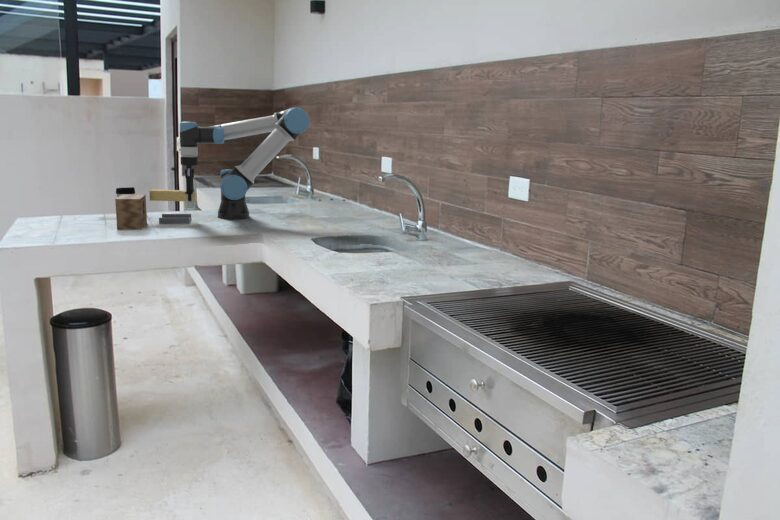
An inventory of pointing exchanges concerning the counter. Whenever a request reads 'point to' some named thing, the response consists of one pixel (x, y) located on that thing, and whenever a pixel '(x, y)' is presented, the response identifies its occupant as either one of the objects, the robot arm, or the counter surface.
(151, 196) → the brass bar
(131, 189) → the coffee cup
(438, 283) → the counter surface
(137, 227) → the wooden block
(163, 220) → the saddle tray
